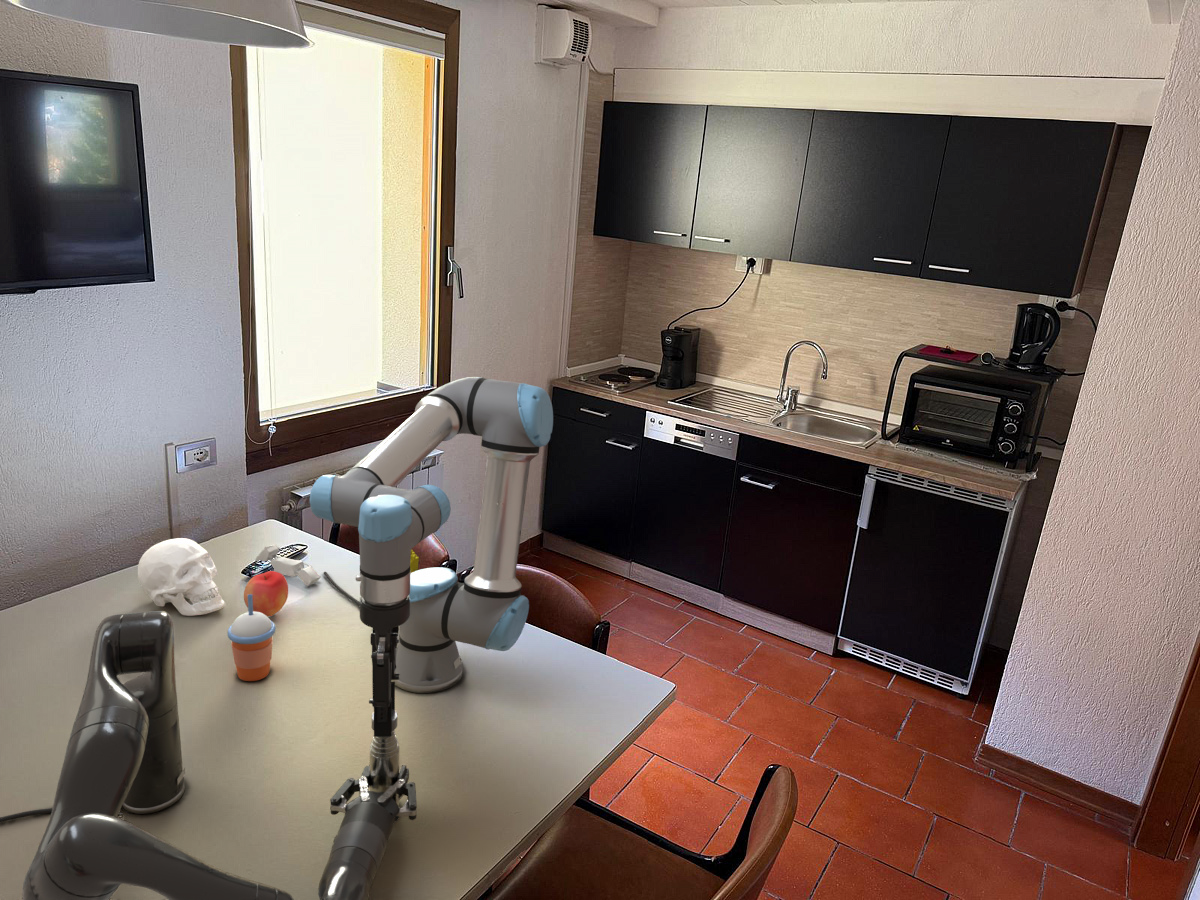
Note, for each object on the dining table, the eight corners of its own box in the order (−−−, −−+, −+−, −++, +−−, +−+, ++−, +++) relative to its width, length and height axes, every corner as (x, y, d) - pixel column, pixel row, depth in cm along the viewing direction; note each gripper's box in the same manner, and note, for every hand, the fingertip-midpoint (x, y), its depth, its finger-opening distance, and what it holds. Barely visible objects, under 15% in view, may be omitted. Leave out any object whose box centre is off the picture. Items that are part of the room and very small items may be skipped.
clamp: (253, 565, 223) (254, 542, 221) (265, 560, 226) (266, 537, 224) (309, 593, 215) (310, 569, 213) (320, 588, 218) (321, 564, 216)
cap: (399, 718, 140) (399, 708, 139) (394, 734, 136) (394, 724, 135) (374, 717, 140) (374, 707, 139) (369, 732, 136) (368, 722, 135)
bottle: (401, 802, 145) (402, 712, 140) (394, 822, 140) (395, 729, 135) (374, 800, 145) (374, 709, 140) (366, 819, 140) (365, 726, 135)
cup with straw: (261, 689, 172) (257, 609, 167) (220, 681, 174) (215, 601, 168) (285, 666, 181) (283, 589, 175) (246, 658, 182) (243, 582, 177)
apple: (273, 600, 207) (272, 562, 204) (297, 613, 202) (296, 575, 199) (237, 614, 200) (234, 575, 197) (261, 628, 194) (259, 588, 191)
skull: (204, 625, 194) (201, 560, 189) (125, 605, 199) (121, 542, 195) (243, 602, 206) (242, 541, 202) (168, 584, 212) (165, 524, 207)
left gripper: (313, 860, 128) (346, 784, 144) (408, 866, 128) (430, 789, 145) (312, 818, 126) (345, 746, 142) (409, 825, 126) (431, 752, 142)
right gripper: (367, 570, 138) (367, 696, 145) (351, 622, 122) (352, 760, 129) (414, 571, 139) (412, 695, 146) (405, 623, 123) (403, 760, 130)
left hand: (388, 768), depth 143 cm, fingers closed on bottle, 4 cm apart
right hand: (384, 725), depth 138 cm, fingers closed on cap, 4 cm apart
